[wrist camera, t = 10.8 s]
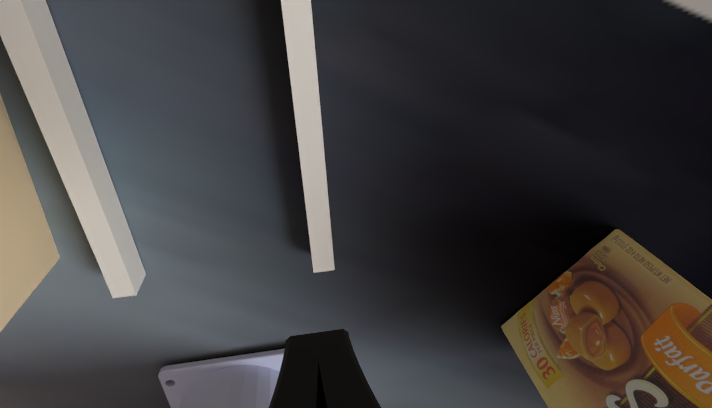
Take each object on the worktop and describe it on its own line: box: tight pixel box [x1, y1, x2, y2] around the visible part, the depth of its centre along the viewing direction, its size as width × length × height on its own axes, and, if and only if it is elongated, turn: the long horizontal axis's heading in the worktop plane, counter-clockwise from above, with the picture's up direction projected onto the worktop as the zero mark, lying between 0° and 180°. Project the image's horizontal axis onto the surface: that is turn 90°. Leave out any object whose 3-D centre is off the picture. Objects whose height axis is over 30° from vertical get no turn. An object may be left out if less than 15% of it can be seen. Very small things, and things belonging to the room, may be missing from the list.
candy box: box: [501, 229, 712, 408], centre depth 18 cm, size 9×4×15 cm, turn 140°
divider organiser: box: [0, 0, 335, 298], centre depth 15 cm, size 14×19×4 cm
